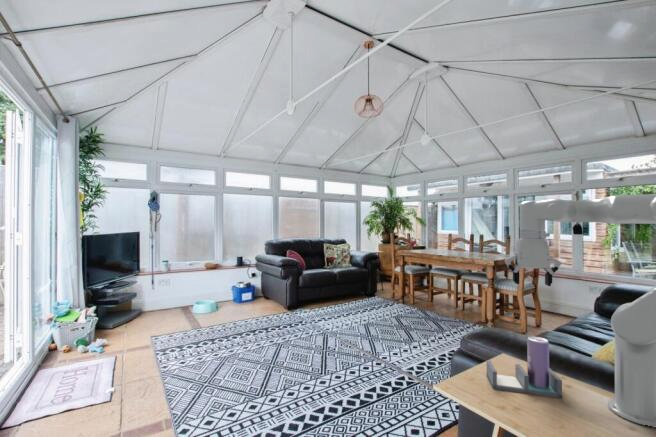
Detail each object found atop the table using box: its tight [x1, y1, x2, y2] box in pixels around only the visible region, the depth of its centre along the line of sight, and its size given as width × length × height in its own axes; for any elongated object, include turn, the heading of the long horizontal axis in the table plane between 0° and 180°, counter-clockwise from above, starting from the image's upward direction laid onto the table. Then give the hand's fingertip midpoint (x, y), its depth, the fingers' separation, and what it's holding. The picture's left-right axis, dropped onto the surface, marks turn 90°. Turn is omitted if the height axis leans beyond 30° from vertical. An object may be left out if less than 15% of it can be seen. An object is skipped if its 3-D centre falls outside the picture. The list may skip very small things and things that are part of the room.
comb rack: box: [486, 359, 563, 399], centre depth 104 cm, size 20×9×6 cm, turn 74°
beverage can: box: [526, 335, 550, 389], centre depth 103 cm, size 6×6×15 cm
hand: (532, 284), depth 109 cm, fingers open, 9 cm apart
